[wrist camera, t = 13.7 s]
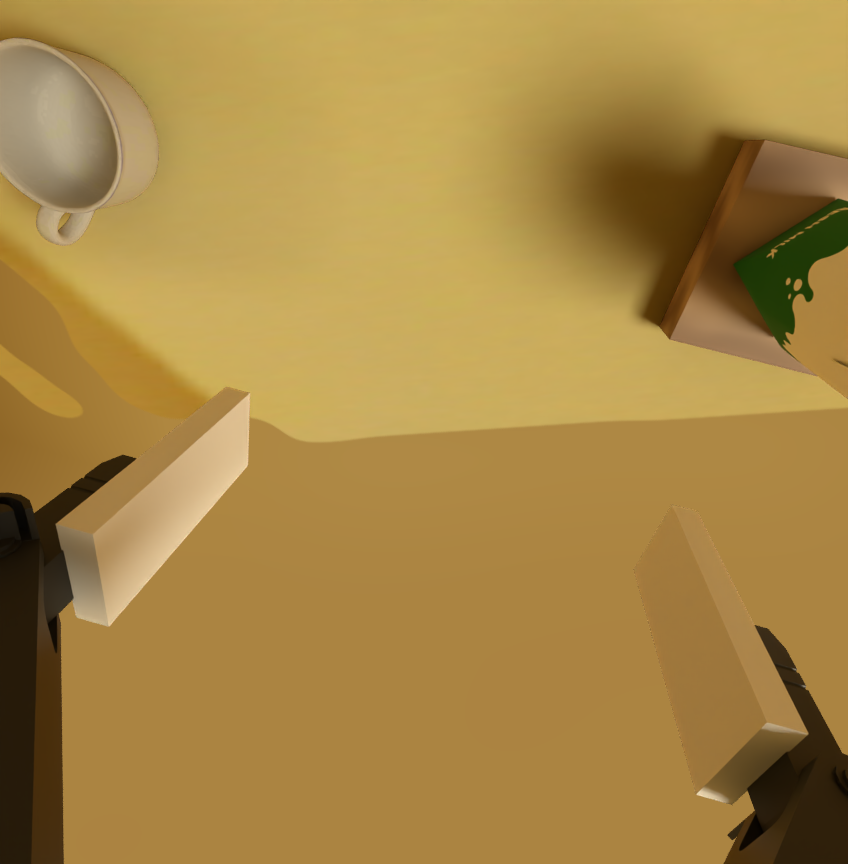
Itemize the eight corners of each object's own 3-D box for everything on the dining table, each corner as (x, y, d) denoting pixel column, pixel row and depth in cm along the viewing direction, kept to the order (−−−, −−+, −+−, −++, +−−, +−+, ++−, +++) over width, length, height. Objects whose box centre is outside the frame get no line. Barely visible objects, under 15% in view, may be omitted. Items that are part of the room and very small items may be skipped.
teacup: (75, 23, 39) (-20, -5, 32) (198, 117, 41) (133, 110, 34) (38, 185, 46) (-47, 191, 39) (145, 260, 48) (82, 278, 41)
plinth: (741, 140, 36) (765, 139, 33) (936, 186, 36) (981, 189, 32) (657, 324, 44) (669, 339, 40) (819, 364, 43) (846, 383, 40)
